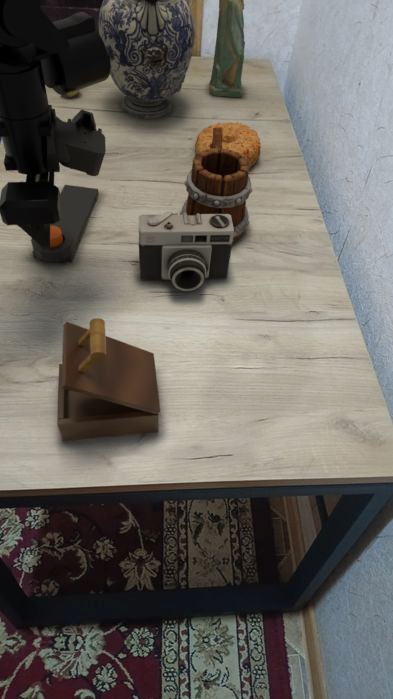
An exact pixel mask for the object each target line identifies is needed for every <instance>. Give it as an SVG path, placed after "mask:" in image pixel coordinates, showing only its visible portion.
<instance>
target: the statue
mask: <svg viewBox="0 0 393 699" xmlns="http://www.w3.org/2000/svg"><path fill="white" fill-rule="evenodd" d="M218 2H219V3H218V17H217V28H216V39H215V47H214V54H213V65H212V70H211V75H210V81H209V93H210V94H211V95H212V96H216V97H230V98H241V97H242V94H243V86H242V85H243V84H242V77H243V76H242V74H243V68H244V61H245V46H246V42H245V33H244V32H245V31H244V28H245V18H244V10H245V2H244V0H218Z"/></svg>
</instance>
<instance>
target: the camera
mask: <svg viewBox="0 0 393 699" xmlns="http://www.w3.org/2000/svg"><path fill="white" fill-rule="evenodd" d="M233 235H234V227H233V223H232V218H231V215H229V214H199V213H198V214H196V215H195V216H188V215H187V214H186V213H184V215H182V214H179V213H178V212H165V213H162V214H140V215H139V216H138V266H139V274H140V280H141V281H163V280H164V281H167V280H168V281H170V283H171V284H172V286H173V287H175V288H176V289H178V290H180V291H184V292H189V291H194V290H196V289H199V288H200V287H201V286H202V285H203V284H204V282H205V281H206V280H219V279H227V277H228V272H229V264H230V260H231V253H232V247H233V242H234V241H233Z"/></svg>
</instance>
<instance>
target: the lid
mask: <svg viewBox="0 0 393 699" xmlns="http://www.w3.org/2000/svg"><path fill="white" fill-rule="evenodd" d="M155 360H156V359H155V353H154V352H152V351H149V350H145V349H143V348H141V347H137V346H135V345H132V344H129V343H127V342H124V341H121V340H119V339H115V338H113V337H110V336H107V335H106V322H105V320H104V319H103V318H100V317H95V318H92V319H91V320H90V321H89V328H85V327H83V326H80V325H77V324H75V323H71V322H69V321H65V322H64V323H63V324H62V363H61V364H62V388H63V389H67V390H70V391H74V392H77V393H81V394H85V395H88V396H92V397H95V398H99V399H103V400H106V401H110V402H113V403H117V404H121V405H124V406H128V407H131V408H135V409H139V410H142V411H146V412H149V413H153V414H158V413H159V414H160V413H161V403H160V396H159V388H158V379H157V369H156V361H155Z"/></svg>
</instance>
